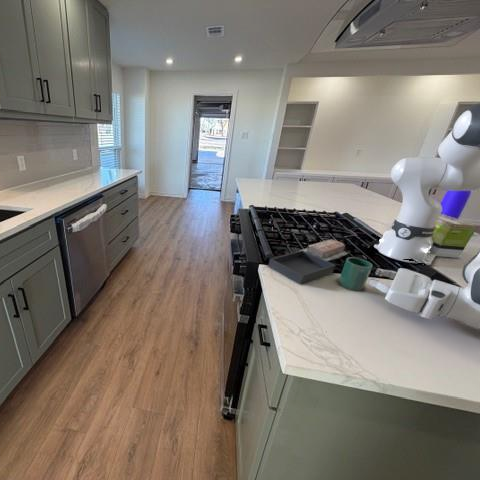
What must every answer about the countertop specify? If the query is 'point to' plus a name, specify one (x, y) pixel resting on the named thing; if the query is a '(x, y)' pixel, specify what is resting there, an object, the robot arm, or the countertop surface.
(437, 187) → the robot arm
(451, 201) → the bottle
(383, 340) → the countertop surface
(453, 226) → the tea box
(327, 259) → the packaged product
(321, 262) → the baking tray
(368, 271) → the enamel cup
